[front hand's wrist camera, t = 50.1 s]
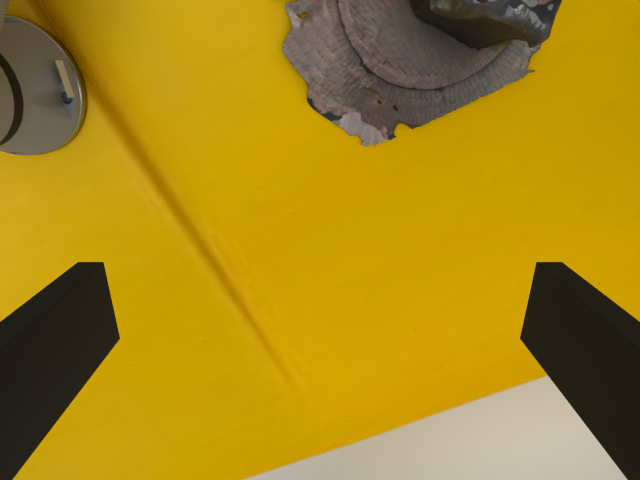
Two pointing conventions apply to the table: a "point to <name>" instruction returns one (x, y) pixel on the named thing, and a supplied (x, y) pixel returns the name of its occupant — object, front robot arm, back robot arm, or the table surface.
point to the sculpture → (410, 56)
